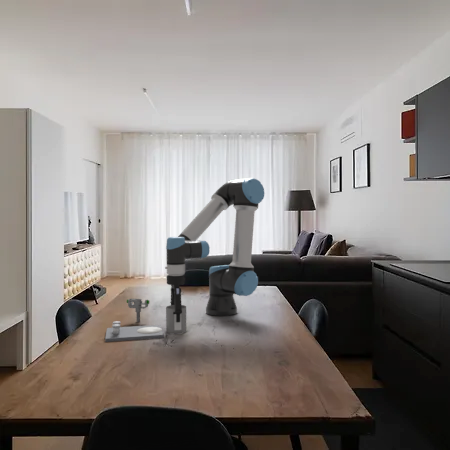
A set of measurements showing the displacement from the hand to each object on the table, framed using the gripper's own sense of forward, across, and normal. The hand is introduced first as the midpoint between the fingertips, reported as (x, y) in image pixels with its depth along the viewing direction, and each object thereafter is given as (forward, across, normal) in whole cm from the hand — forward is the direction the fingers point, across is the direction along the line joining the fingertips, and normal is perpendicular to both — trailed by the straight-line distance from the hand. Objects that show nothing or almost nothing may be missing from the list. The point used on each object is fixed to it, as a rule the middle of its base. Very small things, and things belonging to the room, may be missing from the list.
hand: (176, 325), depth 181 cm
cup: (+2, 0, 0) cm, 2 cm away
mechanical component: (+2, -20, -15) cm, 25 cm away
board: (+2, +1, -17) cm, 17 cm away
